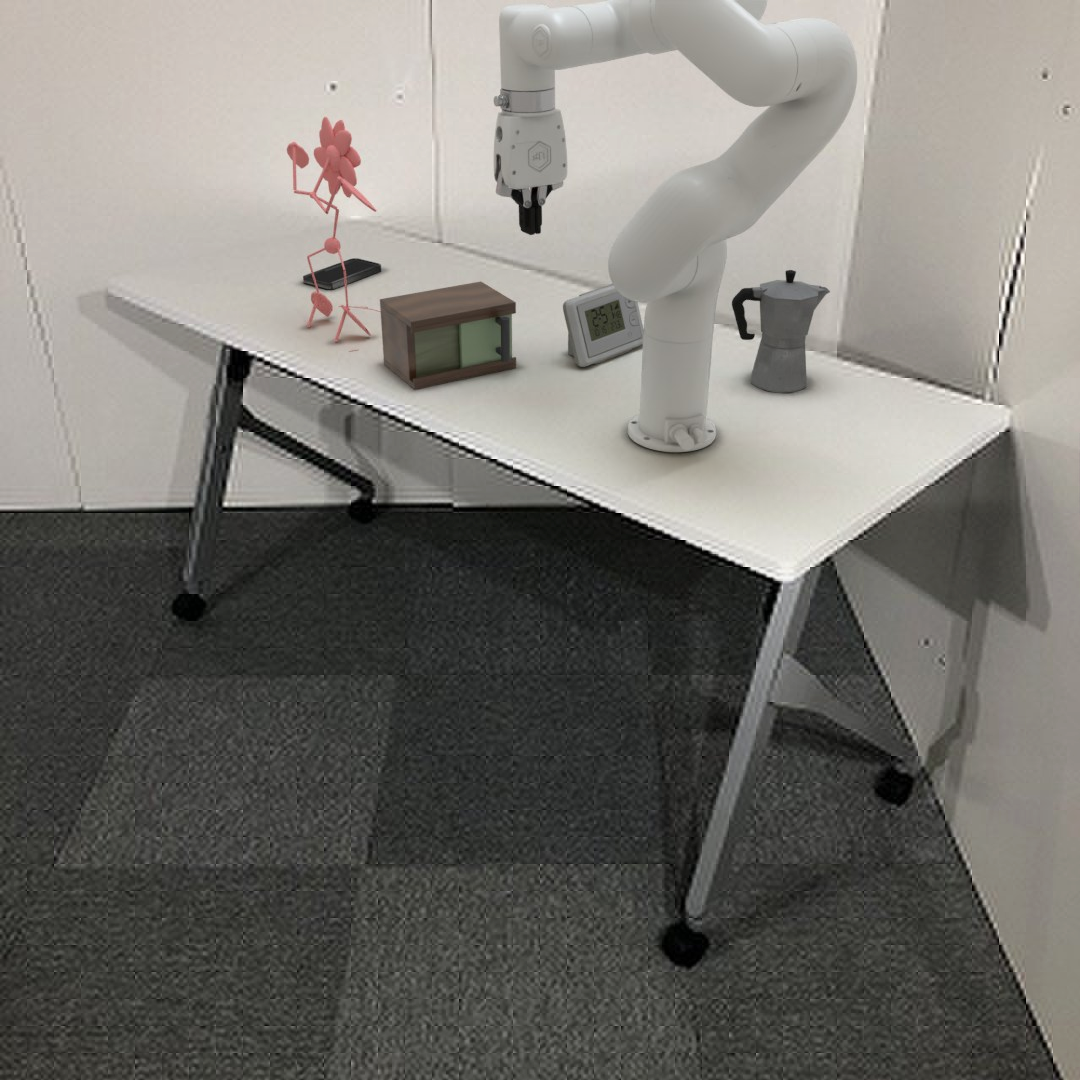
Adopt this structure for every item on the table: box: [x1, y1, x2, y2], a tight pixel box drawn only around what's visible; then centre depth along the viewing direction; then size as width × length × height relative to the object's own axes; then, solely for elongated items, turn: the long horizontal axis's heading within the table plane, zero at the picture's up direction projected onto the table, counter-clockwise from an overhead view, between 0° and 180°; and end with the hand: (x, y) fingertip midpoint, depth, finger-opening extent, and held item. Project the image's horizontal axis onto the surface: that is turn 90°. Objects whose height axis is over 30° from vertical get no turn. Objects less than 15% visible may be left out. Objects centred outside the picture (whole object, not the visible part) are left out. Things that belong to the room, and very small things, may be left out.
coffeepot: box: [731, 269, 831, 394], centre depth 184 cm, size 15×9×18 cm, turn 101°
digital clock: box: [562, 283, 644, 368], centre depth 196 cm, size 16×9×11 cm, turn 123°
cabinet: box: [379, 281, 517, 390], centre depth 191 cm, size 12×18×11 cm, turn 120°
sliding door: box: [459, 314, 513, 368], centre depth 188 cm, size 4×9×8 cm, turn 120°
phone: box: [302, 257, 382, 290], centre depth 232 cm, size 8×1×15 cm
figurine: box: [286, 116, 381, 353], centre depth 200 cm, size 15×26×35 cm, turn 40°
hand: (530, 232), depth 176 cm, fingers closed
